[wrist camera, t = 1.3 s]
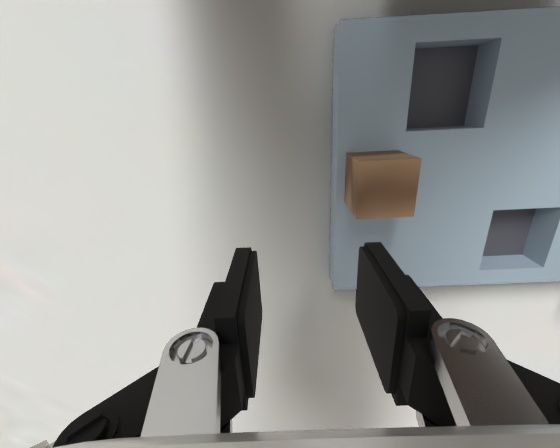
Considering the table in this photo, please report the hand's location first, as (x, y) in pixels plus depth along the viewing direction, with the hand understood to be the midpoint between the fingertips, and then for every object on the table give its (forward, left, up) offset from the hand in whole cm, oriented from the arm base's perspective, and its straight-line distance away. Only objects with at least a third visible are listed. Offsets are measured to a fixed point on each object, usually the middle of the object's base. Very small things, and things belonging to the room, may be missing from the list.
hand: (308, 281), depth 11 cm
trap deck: (0, +18, -19) cm, 26 cm away
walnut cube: (0, +7, -16) cm, 18 cm away
